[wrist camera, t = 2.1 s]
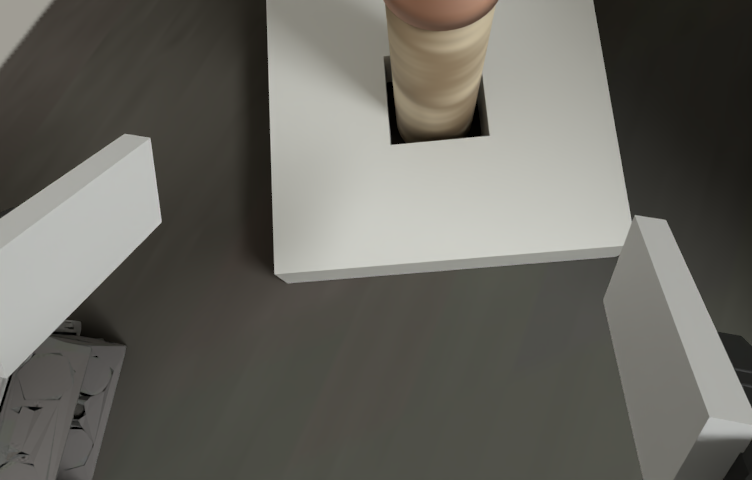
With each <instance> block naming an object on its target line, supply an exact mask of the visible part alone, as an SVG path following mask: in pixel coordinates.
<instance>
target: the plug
mask: <svg viewBox="0 0 752 480" xmlns="http://www.w3.org/2000/svg"><path fill="white" fill-rule="evenodd" d="M383 1H384V2H385V9H386V19H387V29H388V40H389V50H390V60H391V70H392V80H393V91H394V101H395V111H396V121H397V128H398V131H399V133H400V135H401V137H402V139H403V140H404V141H405V142H406V143H417V142H428V141H438V140H449V139H460V138H466V137H467V136H468V134H469V132H470V129H471V125H472V121H473V116H474V111H475V106H476V101H477V96H478V91H479V86H480V81H481V76H482V71H483V66H484V61H485V56H486V51H487V46H488V41H489V36H490V31H491V26H492V21H493V16H494V11H495V6H496V4H497V2H498V1H499V0H383Z"/></svg>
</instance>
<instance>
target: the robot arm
mask: <svg viewBox="0 0 752 480" xmlns="http://www.w3.org/2000/svg"><path fill="white" fill-rule="evenodd" d="M161 223H162V220H161V213H160V205H159V198H158V191H157V183H156V176H155V168H154V161H153V154H152V146H151V139H150V138H148V137H142V136H136V135H129V134H124V135H122V136H121V137H119V138H118V139H116V140H115V141H114V142H112V143H111V144H109V145H108V146H106V147H105V148H103V149H102V150H100V151H99V152H97V153H96V154H94V155H93V156H91V157H90V158H89V159H87V160H86V161H84V162H83V163H81V164H80V165H78V166H77V167H75V168H74V169H72V170H71V171H69V172H68V173H66V174H65V175H64V176H62V177H61V178H59V179H58V180H56V181H55V182H53V183H52V184H50V185H49V186H47V187H46V188H44V189H43V190H42V191H40V192H39V193H37V194H36V195H34V196H33V197H31V198H30V199H28V200H27V201H25V202H24V203H22V204H21V205H19V206H18V207H17V208H11V209H8V210H5V211H3V212H0V377H2V378H8V377H9V376H10V375H11V374H12V373H13V372H14V371H15V370H16V369H17V368H18V367H19V366H20V365H21V364H22V363H23V362H24V361H25V360H26V359H27V358H28V357H29V356H30V355H31V354H32V353H33V352H34V351H35V350H36V349H37V348H38V347H39V346H40V345H41V344H42V343H43V342H44V341H45V340H46V339H47V338H48V337H49V336H50V335H51V334H52V333H53V332H54V331H55V330H56V329H57V327H58V326H59V325H60V324H61V323H62V322H63V321H64V320H65V319H66V318H67V317H68V316H69V315H70V314H71V313H72V312H73V311H74V310H75V309H76V308H77V307H78V306H79V305H80V304H81V303H82V302H83V301H84V300H85V299H86V298H87V297H88V296H89V295H90V294H91V293H92V292H93V291H94V290H95V289H96V288H97V287H98V286H99V285H100V284H101V283H102V282H103V281H104V280H105V279H106V278H107V277H108V276H109V275H110V274H111V273H112V272H113V271H114V270H115V269H116V268H117V267H118V266H119V265H120V264H121V263H122V262H123V261H124V260H125V259H126V258H127V257H128V256H129V255H130V254H131V253H132V252H133V251H134V250H135V249H136V248H137V247H138V246H139V245H140V244H141V243H142V242H143V241H144V240H145V239H146V238H147V237H148V236H149V235H150V234H151V233H152V232H153V231H154V230H155V229H156V228H157V227H158V226H159V225H160V224H161ZM603 302H604V306H605V311H606V315H607V320H608V324H609V329H610V333H611V338H612V342H613V347H614V351H615V355H616V360H617V364H618V369H619V373H620V378H621V382H622V387H623V391H624V396H625V400H626V405H627V409H628V414H629V418H630V423H631V427H632V432H633V436H634V441H635V445H636V450H637V454H638V458H639V463H640V467H641V472H642V476H643V480H752V346H751V345H750V344H749V343H748V342H747V341H746V340H745V339H744V338H743V337H742V336H738V335H732V334H727V333H721V332H717V331H716V329H715V326H714V324H713V322H712V320H711V318H710V315H709V313H708V311H707V309H706V307H705V304H704V302H703V300H702V298H701V296H700V293H699V291H698V289H697V287H696V285H695V283H694V280H693V278H692V276H691V274H690V272H689V269H688V267H687V265H686V263H685V261H684V258H683V256H682V254H681V252H680V250H679V247H678V245H677V243H676V241H675V239H674V236H673V234H672V232H671V230H670V228H669V226H668V223H667V221H666V220H663V219H657V218H650V217H644V216H638V215H635V216H634V218H633V221H632V224H631V226H630V229H629V232H628V234H627V237H626V240H625V243H624V245H623V248H622V251H621V253H620V256H619V259H618V261H617V264H616V267H615V269H614V272H613V275H612V278H611V280H610V283H609V286H608V288H607V291H606V294H605V296H604V299H603Z"/></svg>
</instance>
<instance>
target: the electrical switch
mask: <svg viewBox="0 0 752 480" xmlns="http://www.w3.org/2000/svg"><path fill="white" fill-rule="evenodd" d="M80 333H81V322H80V321H74V320H64V321H63V322H62V323H61V324H60V325H59V326H58V327H57V329H56V330H55V331H54V332H53V333H52V334H51V335H50V336H49V337H48V338H47V339H46V340H45V341H44V342H43V343H42V344H41V345H40V346H39V347H38V348H37V349H36V350H35V351H34V352H33V353H32V354H31V355H30V356H29V357H28V358H27V359H26V360H25V361H24V362H23V363H22V364H21V365H20V366H19V367H18V368H17V369H16V370H15V371H14V372H13V373H12V374H11V375H10V376H9V377H8V378H2V377H0V480H92V477H93V474H94V470H95V466H96V462H97V458H98V455H99V451H100V447H101V443H102V439H103V435H104V432H105V428H106V424H107V420H108V416H109V413H110V409H111V405H112V401H113V397H114V393H115V390H116V386H117V382H118V378H119V374H120V370H121V367H122V363H123V359H124V355H125V351H126V347H125V346H126V345H122V344H117V343H113V342H108V341H105V340H104V339H103V338H98V339H94V338H88V337H83V336H80ZM93 356H98V357H99V358H97V357H93ZM111 372H112V373H113V374H111ZM106 386H107V387H106ZM105 387H106V389H105ZM104 389H105V391H103V390H104ZM102 391H103V392H102ZM80 392H83V393H86V394H89V395H94V396H91V397H88V396H83V395H81V394H80ZM77 403H78V404H82V405H84V407H85V413H84V415H83V417H82V418H81V419H73V416H74V413H75V409H76V406H77ZM70 427H80V428H83V429H84V431H85V432H86V433H85V432H84V431H83V430H82V429H70ZM93 444H94V446H93V448H92V445H93ZM75 467H77V468H75Z"/></svg>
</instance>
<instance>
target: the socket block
mask: <svg viewBox="0 0 752 480" xmlns="http://www.w3.org/2000/svg"><path fill="white" fill-rule="evenodd" d="M266 8H267V41H268V75H269V109H270V142H271V176H272V209H273V243H274V274H275V275H276V276H278V277H279V278H280V279H282V280H283V281H285V282H286V283H298V282H310V281H322V280H335V279H347V278H360V277H372V276H384V275H397V274H409V273H421V272H434V271H446V270H458V269H471V268H483V267H496V266H508V265H520V264H533V263H545V262H557V261H570V260H582V259H594V258H607V257H616V256H618V255H620V253H621V251H622V248H623V245H624V243H625V240H626V237H627V234H628V232H629V229H630V226H631V224H632V220H631V215H630V209H629V203H628V197H627V192H626V186H625V180H624V175H623V169H622V163H621V157H620V152H619V146H618V140H617V134H616V129H615V123H614V117H613V111H612V106H611V100H610V94H609V89H608V83H607V77H606V71H605V66H604V60H603V54H602V48H601V43H600V37H599V31H598V25H597V20H596V14H595V8H594V3H593V0H499V1H498V2H497V4H496V6H495V11H494V16H493V21H492V26H491V31H490V36H489V41H488V46H487V51H486V56H485V61H484V66H483V71H482V76H481V81H480V86H479V91H478V96H477V102H478V111H479V119H480V128H481V137H470V138H460V139H449V140H438V141H428V142H417V143H406V144H396V145H392V144H391V131H390V119H389V106H388V94H387V83H389V82H393V80H392V70H391V60H390V50H389V40H388V29H387V19H386V9H385V2H384V1H383V0H266Z"/></svg>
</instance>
